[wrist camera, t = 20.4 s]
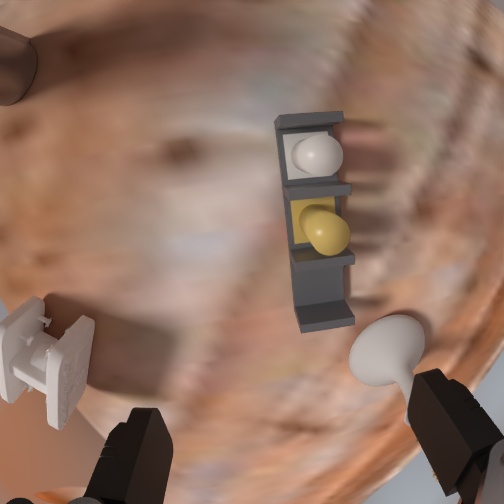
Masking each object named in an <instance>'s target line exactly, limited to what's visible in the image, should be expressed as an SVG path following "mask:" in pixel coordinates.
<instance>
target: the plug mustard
mask: <svg viewBox="0 0 504 504" xmlns="http://www.w3.org/2000/svg"><path fill="white" fill-rule="evenodd" d="M299 226H300V228H301V230H302V231H303V233H304V234H305V235H306V237H307V238H308V240H309V241H310V242H311V244H312V245H313V247H314V248H315V249H316V250H317V251H318V252H319V253H321V254H323V255H328V256H331V255H336V254H338V253H340V252H342V251H343V250H344V249H345V248H346V247H347V245H348V243H349V240H350V229H349V226H348V224H347V223H346V222H345V221H344V220H343V219H342V218H340V217H339V216H337V215H336V214H334V213H333V212H331V211H330V210H329V209H327V208H326V207H324V206H322V205H320V204H311V205H308V206H306V207H305V208H304V209H303V210H302V211H301V213H300V215H299Z"/></svg>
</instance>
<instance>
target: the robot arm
mask: <svg viewBox="0 0 504 504" xmlns="http://www.w3.org/2000/svg"><path fill="white" fill-rule="evenodd" d="M36 67H37V56H36V52H35V50H34V48H33V47H32V46H31V45H30V38H28V37H26V36H23V35H21V34H18V33H16V32H14V31H11V30H9V29H6V28H4V27H1V26H0V106H8V105H11V104H13V103H15V102H16V101H18V100H19V99H20V98H21V97H22V96H23V95H24V94H25V92H26V91H27V90H28V88H29V86H30V85H31V83H32V80H33V78H34V75H35V72H36ZM407 415H408V421H409V424H410V426H411V428H412V430H413V431H414V433H415V435H416V437H417V439H418V441H419V443H420V445H421V447H422V449H423V451H424V453H425V455H426V457H427V459H428V461H429V463H430V465H431V467H432V469H433V471H434V473H435V475H436V477H437V479H438V481H439V483H440V485H441V487H442V489H443V491H444V493H445V495H446V497H447V496H449V495H451V494H454V493H456V492H458V493H459V495H460V497H461V498H460V499H459V501H458V504H504V436H503V434H502V433H501V432H500V430H499V429H498V428H497V426H496V425H495V424H494V422H493V421H492V420H491V418H490V417H489V416H488V414H487V413H486V412H485V410H484V409H483V408H482V407H480V404H479V403H478V401H477V400H476V399H474V396H473V395H472V394H471V392H470V391H469V390H468V389H467V387H466V386H464V385H463V384H461V383H459V382H458V381H456V380H454V379H451V380H448V379H447V378H446V377H445V375H444V374H443V373H442V371H441V370H440V369H438V368H436V369H432V370H429V371H426V372H422V373H419V374H416V375H415V377H414V380H413V385H412V390H411V394H410V399H409V403H408V408H407ZM100 456H101V458H99V460H98V462H97V464H96V467H95V470H94V472H93V474H92V477H91V480H90V482H89V485H88V487H87V490H86V492H85V494H84V496H83V497H80V498H76V499H74V500H72V501H70V502H69V503H68V504H163V501H164V496H165V491H166V487H167V482H168V477H169V472H170V467H171V462H172V458H173V443H172V439H171V436H170V434H169V432H168V430H167V427H166V425H165V423H164V420H163V418H162V416H161V413H160V411H159V410H158V408H133V409H132V411H131V413H130V415H129V418H128V420H127V423H124V422H120V423H119V424H118V425H117V426H116V427H115V428H114V429H113V430H112V431H111V432H110V433H109V436H108V438H107V440H106V443H105V448H103V450H102V452H101V455H100ZM7 504H33V503H32V502H31V501H30V500H28V499H25V498H15V499H12V500H10V501H9V502H8V503H7Z"/></svg>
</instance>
